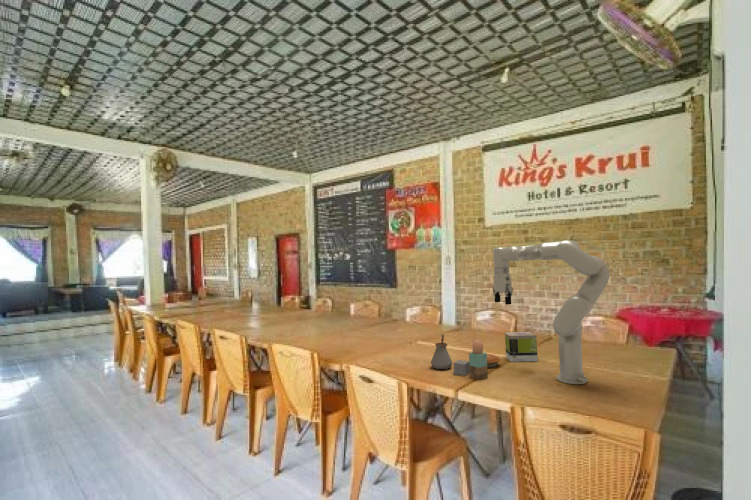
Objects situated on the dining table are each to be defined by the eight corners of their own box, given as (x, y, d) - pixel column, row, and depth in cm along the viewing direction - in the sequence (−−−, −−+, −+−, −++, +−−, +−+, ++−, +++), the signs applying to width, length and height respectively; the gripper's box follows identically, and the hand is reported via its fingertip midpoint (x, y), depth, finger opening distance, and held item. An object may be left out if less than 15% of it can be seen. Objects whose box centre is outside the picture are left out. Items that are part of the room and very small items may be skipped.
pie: (464, 365, 207) (464, 356, 207) (481, 359, 217) (480, 350, 217) (489, 371, 195) (489, 361, 195) (505, 364, 205) (505, 355, 205)
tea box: (532, 357, 218) (531, 331, 218) (538, 362, 208) (536, 335, 208) (505, 357, 219) (504, 331, 220) (509, 362, 209) (508, 335, 210)
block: (469, 373, 192) (469, 361, 192) (465, 376, 187) (464, 364, 187) (458, 371, 196) (458, 359, 196) (453, 374, 191) (453, 362, 191)
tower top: (487, 365, 185) (486, 353, 185) (479, 367, 181) (479, 355, 181) (476, 362, 189) (476, 350, 189) (469, 365, 185) (469, 353, 185)
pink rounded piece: (485, 353, 183) (484, 341, 183) (475, 354, 182) (475, 342, 182) (479, 351, 188) (479, 339, 188) (470, 352, 187) (470, 340, 187)
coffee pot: (451, 371, 195) (450, 342, 196) (429, 370, 198) (428, 342, 199) (454, 360, 216) (453, 334, 216) (434, 359, 219) (433, 333, 219)
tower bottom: (487, 378, 183) (487, 365, 183) (477, 380, 181) (477, 367, 181) (479, 374, 189) (479, 362, 189) (469, 376, 186) (469, 364, 187)
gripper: (517, 270, 191) (519, 304, 191) (498, 270, 208) (499, 301, 207) (504, 271, 189) (506, 305, 189) (486, 270, 206) (487, 302, 205)
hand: (502, 303), depth 198 cm, fingers open, 9 cm apart
